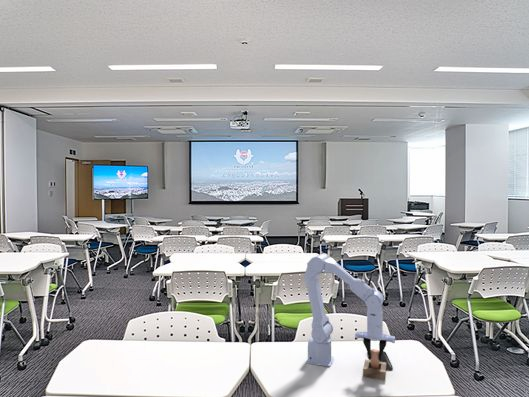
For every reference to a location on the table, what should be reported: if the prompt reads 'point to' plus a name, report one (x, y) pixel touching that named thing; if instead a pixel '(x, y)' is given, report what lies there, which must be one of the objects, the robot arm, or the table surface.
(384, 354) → the phone
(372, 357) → the peg
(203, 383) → the table surface
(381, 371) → the socket block
